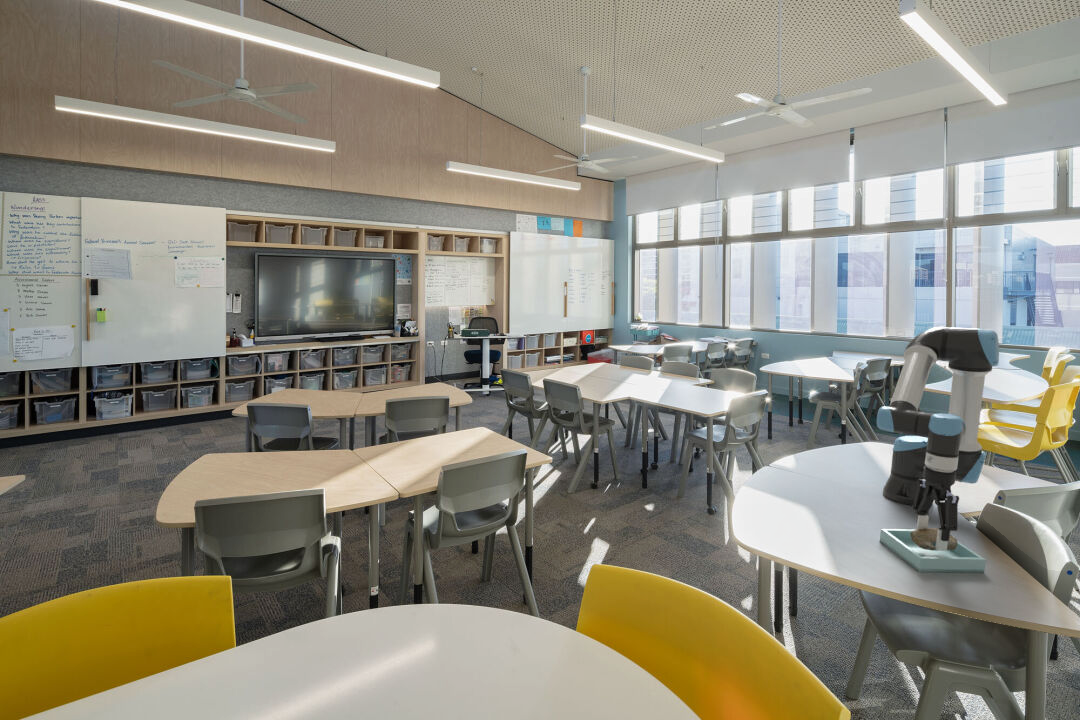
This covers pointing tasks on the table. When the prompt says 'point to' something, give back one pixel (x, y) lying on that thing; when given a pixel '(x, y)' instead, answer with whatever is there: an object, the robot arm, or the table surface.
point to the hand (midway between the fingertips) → (930, 542)
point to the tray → (931, 554)
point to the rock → (930, 539)
